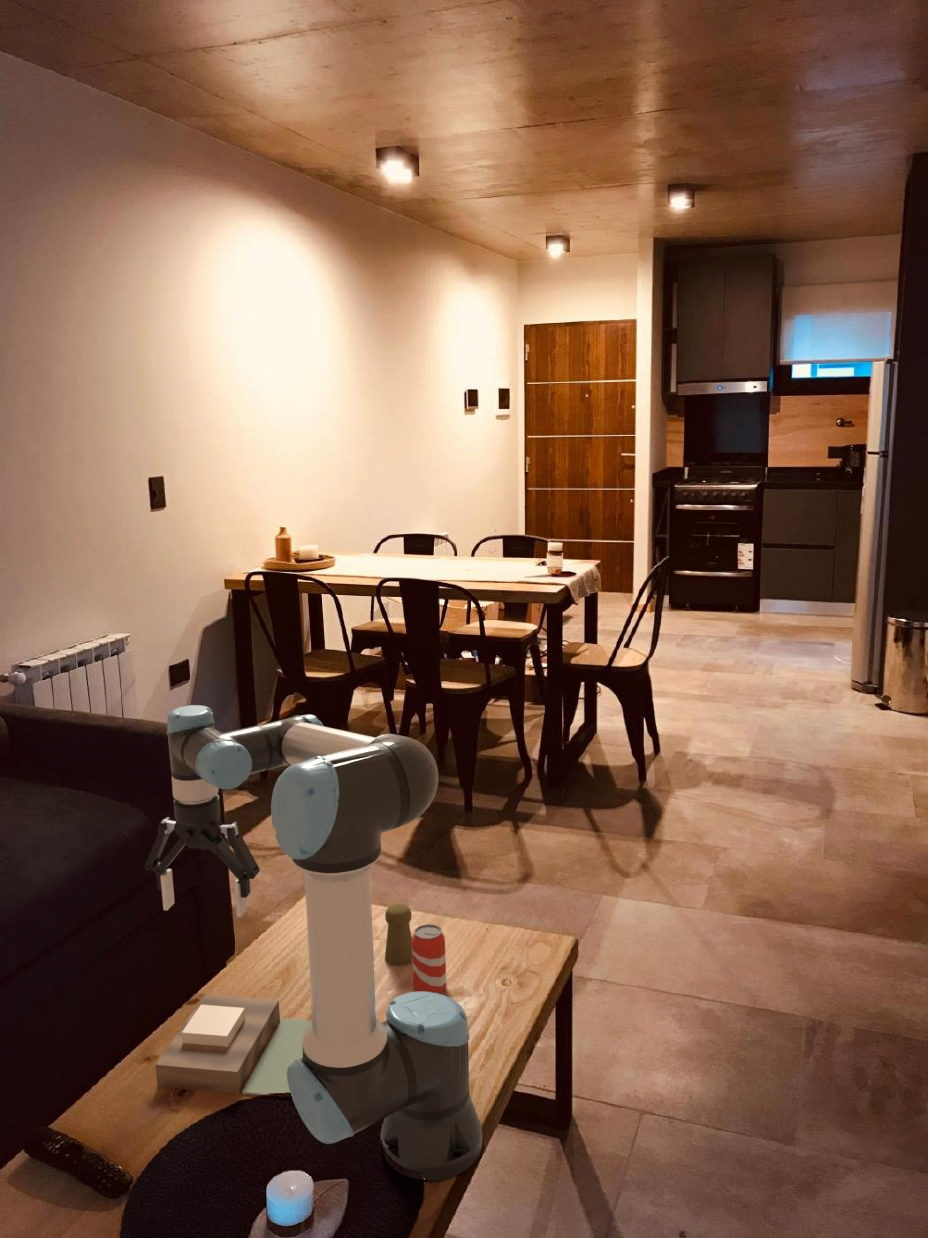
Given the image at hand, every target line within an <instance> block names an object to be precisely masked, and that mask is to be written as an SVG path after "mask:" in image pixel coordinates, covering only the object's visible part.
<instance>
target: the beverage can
mask: <svg viewBox="0 0 928 1238" xmlns="http://www.w3.org/2000/svg"><path fill="white" fill-rule="evenodd" d="M411 937H412V960H413V962H412V982H413V983H412V985H413V990H414V992H419V991H425V992H432V993H438V994H441V993H442V992H443V991H444V990H445V989H446V988H447V969H446V968H447V966H446V961H447V959H446V938H445V935H444V933H443V932H442V927H440V926H438V925H437V924H433V923H432V924H431V923H430V924H429V923H425V924H422V925H419V926H417V927H416V928H415V929H414V932H413V935H411Z"/></svg>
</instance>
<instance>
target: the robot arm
mask: <svg viewBox="0 0 928 1238" xmlns="http://www.w3.org/2000/svg"><path fill="white" fill-rule="evenodd" d="M215 721H216V720H215V718H214V714H213V710H212V709H211V708H210V707H208V706H206V705H201V704H200V705H199V704H196V705H194V704H191V705H185V706H180V707H176V708H175V709H173V710H171V711H170V712H169V713H168V714H167V720H166V722H167V731H166V735H167V738H168V739H167V740H168V742H167V743H168V750H169V751H168V752H169V761H170V762H169V763H170V772H171V784H172V797H173V798H174V799H173V809H174V810H173V811H174V818H175V820H172V818H171V817H169V816H167V817H165V818H163V819H162V820H161V821H160V822H159V823H158V825H157V827H158V829H157V831H158V832H157V836H156V838H155V841H154V842H153V845H152V848H151V851H150V852H149V855H148V858H147V860H146V862H145V863H144V869H145V870H146V871H147V872H148V871H149V872H150V871H152V872H154V874H155V877H156V887H157V890H158V891H161V898H162V907H163V911H168V910H170V908H172V907H173V906H174V904H175V894H174V893H175V892H174V881H173V870H172V868H168V867H169V866H170V865H171V863H172V862H173V861H174V860H175V859H176V857H177V856H178V855H179V853H180V852H181V851H182V850H183V848H184V847H185V846H186V847H188V848H189V849H192V850H193V849H194V850H195V849H199V850H204V851H205V850H207V849H208V850H209V851H210V852H211V853H212V854H215V855H216V856H217V857H218V858H219V860H221V862H222V863H223V864H224V866H226V867H227V869H228V870H229V871H230V872H231V873H232V874H233V876H234V877H235V878H236V879H235V881H234V883H233V885H234V898H235V900H234V901H235V911H236V918H242V916H243V915H244V914H245V912H247V910H248V907H247V905H248V904H247V898H248V896H249V895H250V893H251V881H250V880H254V879H255V878H256V877H257V875H258V874H259V873H260V871H261V868H260V867H259V865H258V863H257V861H256V859H255V858H254V856H253V854H252V852H251V850H250V849H249V847H248V845H247V844H246V843H247V842H246V841H245V840H244V838H243V836H242V833H241V830H240V825H239V822H237V821H233V822H232V823H231V824H223V823H222V821H221V805H220V804H221V802H220V795H219V794H218V793H219V791H220V790H219V789H221V790H232V789H235V788H238V787H239V786H240V785H242V784H243V783H244V782H245V781H247V779H248V778H249V776H250V775H254V774H258V773H260V772H264V771H268V770H272V769H276V768H280V767H281V768H282V767H285V766H286V767H287V766H288V767H287V768H286V769H284V770H283V771H282V773H281V774H279V776H278V778H277V779H276V782H275V784H274V786H273V790H272V795H271V803H270V814H271V825H272V828H273V829H275V834H274V835H275V836H274V837H275V838H276V841H277V844H278V846H279V847H280V849H281V851H282V852H283V853H284V854H285V855H286V856H287V857H288V858H291V861H292V863H293V865H294V866H295V867H296V868H298V869H299V870H300V871H302V872H304V886H305V889H304V890H305V906H306V909H305V910H306V924H307V925H306V928H307V944H308V948H307V949H308V962H309V963H308V966H309V981H310V985H309V986H310V1002H311V1020H312V1025H311V1026H310V1027H309V1028H308V1029H307V1031H306V1032H305V1034H304V1036H303V1040H302V1048H303V1058H301V1059H299V1060H298V1059H296V1060H295V1061H294V1062H293V1063H291V1064H290V1066H289V1067H288V1069H287V1081H288V1086H289V1090H290V1093H291V1096H292V1101H293V1103H294V1106H295V1109H296V1110H297V1113H298V1115H299V1116H300V1118H301V1120H302V1122H303V1124H304V1125H305V1126H306V1128H307V1129H308V1132H310V1133H311V1134H312V1136H313V1137H314V1138H316V1140H318V1141H320V1143H323V1144H326V1145H329V1144H330V1145H331V1144H335V1143H337V1142H340V1141H342V1140H344V1139H347V1138H352V1137H354V1136H355V1134H357V1133H359V1132H360V1131H363V1130H364V1129H367V1128H369V1127H370V1126H372V1125H374V1124H375V1123H378V1122H381V1120H383V1123H382V1125H381V1130H380V1141H381V1140H382V1144H383V1147H384V1148H385V1151H386V1153H387V1154H388V1155H389V1156H390V1157H391V1158H392V1160H394V1161H395V1162H396V1163H398V1164H399V1165H401V1166H403V1167H404V1168H407V1169H409V1170H413V1171H416V1172H421V1174H422V1177H424V1178H425V1180H427V1181H426V1182H438V1181H443V1180H448V1179H450V1178H453V1177H456V1176H459V1175H460V1174H462V1173H464V1172H465V1171H466V1170H468V1169H469V1168H470V1167H472V1166H473V1165H474V1164H475V1162H476V1161H477V1159H478V1158H479V1157H480V1155H481V1151H482V1149H483V1128H482V1124H481V1120H480V1118H479V1115H478V1113H477V1110H476V1108H475V1106H474V1103H473V1101H472V1098H471V1096H470V1069H469V1068H470V1067H469V1066H470V1065H469V1064H470V1063H469V1061H470V1060H469V1042H470V1041H469V1040H470V1033H469V1026H468V1018H467V1014H466V1012H465V1010H464V1008H463V1007H462V1005H461V1004H459V1002H457V1001H456V1000H454V999H453V998H451V997H449V996H447V995H444V994H441V993H439V994H438V993H432V992H425V991H419V992H416V991H412V992H411V991H410V992H406V993H403V994H400V995H397V996H396V997H395V998H393V999H392V1000H391V1001H390V1002H389V1005H388V1007H387V1010H386V1012H385V1017H386V1020H385V1021H383V1022H382V1021H381V1020H379V1019H378V1018H376V1017H377V1014H376V1013H377V1012H376V987H375V963H374V962H375V960H374V959H375V958H374V937H373V936H374V935H373V930H374V929H373V909H372V906H373V905H372V904H373V903H372V879H371V878H372V876H371V868H372V867H373V866H374V865H375V863H377V861H379V860H380V858H381V855H382V834H383V833H387V832H388V831H392V830H394V829H397V828H400V827H403V826H406V825H408V824H410V823H411V822H413V821H415V820H417V819H418V818H419V817H421V816H422V815H423V814H424V813H425V812H426V811H427V809H428V808H429V807H430V806H431V805H432V802H433V800H434V799H435V796H436V794H437V791H438V786H439V770H438V765H437V762H436V760H435V758H434V756H433V754H432V752H430V750H429V749H428V748H427V746H425V745H424V744H423V743H421V742H420V741H419V740H416V739H414V738H411V737H408V736H403V735H399V734H394V733H386V734H381V735H378V736H376V737H374V736H370V735H365V734H360V733H355V732H352V731H348V730H347V731H346V730H343V729H342V730H341V729H339V728H332V727H328V726H324V724H323V723H322V721H321V720H319V718H318V717H317V716H316V715H314V714H311V713H310V714H302V715H292V716H291V717H288V718H285V719H281V720H280V719H279V720H275V721H271V722H268V723H263V724H259V725H254V726H249V727H244V728H241V729H235V730H231V731H227V732H220V731H218V730H217V729H216V728H215ZM173 831H175V833H176V834H177V835H178V837H179V839H178V840H177V842H176V843H175V844H174V845H173V846H172V848H171V849H170V851H168V853H167V855H165V856H164V858H163V859H162V860H161V861H159V860H160V859H161V855H162V853H163V851H164V848H165V847H166V844H167V841H168V839H169V836H170V834H171V833H172V832H173ZM221 834H224V837H225V838H224V837H223V836H222V835H221ZM226 839H227V840H228V843H229V845H230V846H229V845H228V844H227V840H226ZM216 843H217V844H216ZM394 1148H396V1150H397V1151H390V1150H391V1149H394Z"/></svg>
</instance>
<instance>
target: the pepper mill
mask: <svg viewBox="0 0 928 1238" xmlns="http://www.w3.org/2000/svg"><path fill="white" fill-rule="evenodd" d="M384 917H385V921H386V923H387V924H388V925H387V933H386V934H387V935H386V942H385V953H384V960H385V962H386V963H387V964H389V965H391V966H395V967H396V966H397V967H401V966H403V967H404V966H406V965H409V964H411V963H413V960H412V932H411V927H410V922H411V920H412V910H411V908H410V907H409V906H408V905H406V904H403V903H394V904H392V905H390V906H388V907H387V909H386V910H385V914H384Z"/></svg>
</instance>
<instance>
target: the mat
mask: <svg viewBox="0 0 928 1238" xmlns="http://www.w3.org/2000/svg"><path fill="white" fill-rule="evenodd" d="M311 1025H312V1019H310V1020H309V1019H299V1018H298V1019H297V1018H286V1017H283V1018H281V1019H280V1021H279V1023H278V1025H277V1026H276V1028H275V1030H274V1032H273V1034H272V1035H271V1037H270V1039H269V1041H268V1043H267V1045H266V1046H265V1048H264V1050H263V1052H262V1054H261V1055H260V1057H259V1059H258V1061H257V1063H256V1064H255V1066H254V1068H253V1069H254V1070H252V1072H251V1074H250V1075H249V1077H248V1078H249V1079H247V1081H246V1083H245V1084H244V1086H243V1087H244V1088H242V1089H243V1090H241V1094H242V1093H243V1094H242V1095H247V1094H251V1095H250V1096H258V1095H260V1094H267V1093H285V1092H290V1090H289V1086H288V1081H287V1069H288V1067H289V1066H290V1064H291V1063H293V1062H294V1061H295V1060H296V1059H298V1060H299V1059H301V1058H303V1048H302V1040H303V1036H304V1034H305V1032H306V1031H307V1029H308V1028H309V1027H310V1026H311ZM245 1093H246V1094H245Z"/></svg>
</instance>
